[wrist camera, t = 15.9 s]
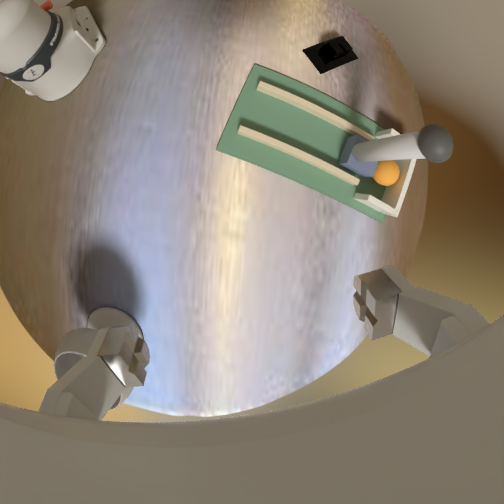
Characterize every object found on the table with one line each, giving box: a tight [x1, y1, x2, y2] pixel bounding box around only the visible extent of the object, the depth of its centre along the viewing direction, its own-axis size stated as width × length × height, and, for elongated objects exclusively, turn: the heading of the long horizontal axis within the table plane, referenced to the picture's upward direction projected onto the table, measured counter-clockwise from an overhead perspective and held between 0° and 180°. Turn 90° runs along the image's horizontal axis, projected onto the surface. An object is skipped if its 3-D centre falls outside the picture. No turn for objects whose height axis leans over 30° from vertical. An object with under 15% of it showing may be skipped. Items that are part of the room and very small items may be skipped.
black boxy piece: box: [303, 36, 358, 74], centre depth 35 cm, size 12×7×5 cm, turn 124°
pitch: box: [216, 64, 386, 223], centre depth 40 cm, size 31×16×1 cm, turn 69°
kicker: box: [338, 124, 453, 177], centre depth 30 cm, size 6×5×22 cm
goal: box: [237, 81, 416, 217], centre depth 38 cm, size 28×13×5 cm, turn 69°
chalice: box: [54, 307, 144, 410], centre depth 38 cm, size 14×14×15 cm
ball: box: [373, 160, 400, 186], centre depth 40 cm, size 5×5×5 cm
